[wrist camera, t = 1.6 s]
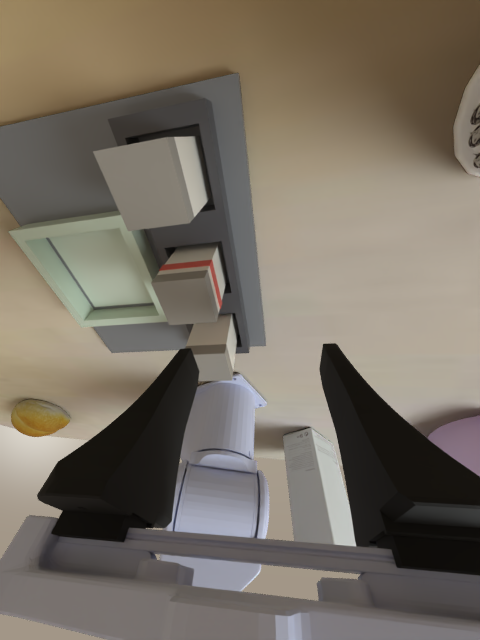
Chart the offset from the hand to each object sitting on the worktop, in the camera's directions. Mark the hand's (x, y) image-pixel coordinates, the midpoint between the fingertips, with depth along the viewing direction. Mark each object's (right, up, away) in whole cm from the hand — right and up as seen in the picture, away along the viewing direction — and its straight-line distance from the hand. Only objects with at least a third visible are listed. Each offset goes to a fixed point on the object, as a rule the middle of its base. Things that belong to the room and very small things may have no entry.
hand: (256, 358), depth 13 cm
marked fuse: (-4, +7, +7) cm, 11 cm away
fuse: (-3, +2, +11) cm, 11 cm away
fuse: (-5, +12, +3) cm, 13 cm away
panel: (-9, +7, +8) cm, 14 cm away
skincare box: (+12, -19, +28) cm, 36 cm away
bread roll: (-36, -14, +29) cm, 49 cm away
